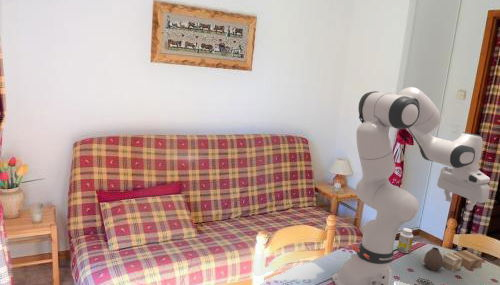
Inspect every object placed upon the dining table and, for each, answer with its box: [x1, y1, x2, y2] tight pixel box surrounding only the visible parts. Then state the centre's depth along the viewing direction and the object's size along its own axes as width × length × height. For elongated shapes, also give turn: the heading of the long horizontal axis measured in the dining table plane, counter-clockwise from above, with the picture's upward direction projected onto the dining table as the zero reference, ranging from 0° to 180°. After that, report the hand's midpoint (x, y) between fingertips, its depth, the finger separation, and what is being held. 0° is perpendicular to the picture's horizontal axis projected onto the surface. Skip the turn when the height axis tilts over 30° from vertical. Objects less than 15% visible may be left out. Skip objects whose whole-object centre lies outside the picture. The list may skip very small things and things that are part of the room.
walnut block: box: [452, 249, 484, 270], centre depth 162 cm, size 8×8×4 cm
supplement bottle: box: [397, 227, 414, 254], centre depth 169 cm, size 6×6×10 cm
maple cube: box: [442, 252, 462, 272], centre depth 158 cm, size 5×5×5 cm
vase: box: [423, 246, 443, 271], centre depth 155 cm, size 7×7×9 cm
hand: (458, 205), depth 152 cm, fingers open, 8 cm apart
